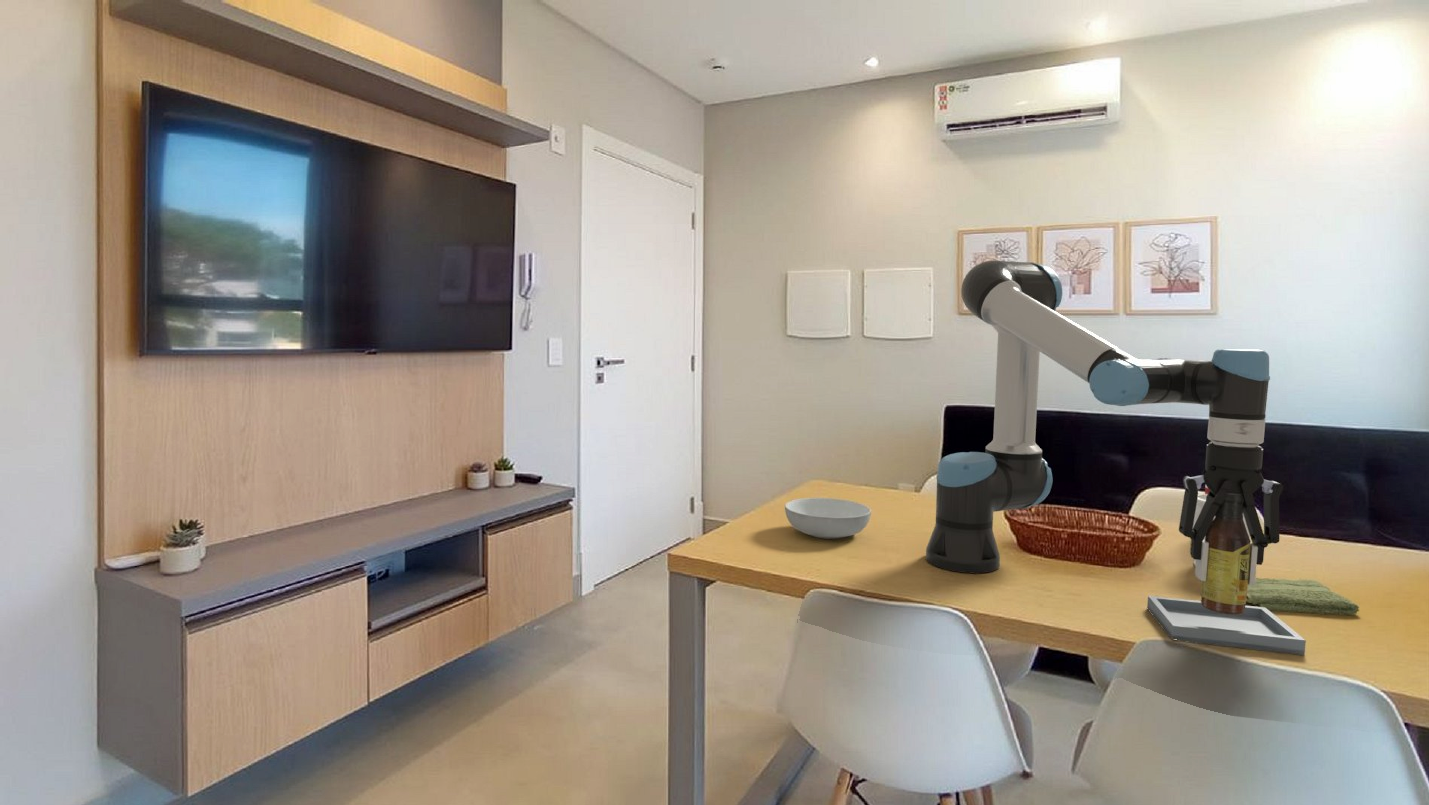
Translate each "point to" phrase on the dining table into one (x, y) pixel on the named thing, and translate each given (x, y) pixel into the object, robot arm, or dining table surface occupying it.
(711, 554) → the dining table surface
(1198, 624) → the tray
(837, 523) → the serving bowl
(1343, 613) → the washcloth
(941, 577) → the dining table surface
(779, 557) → the dining table surface
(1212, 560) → the sauce bottle
